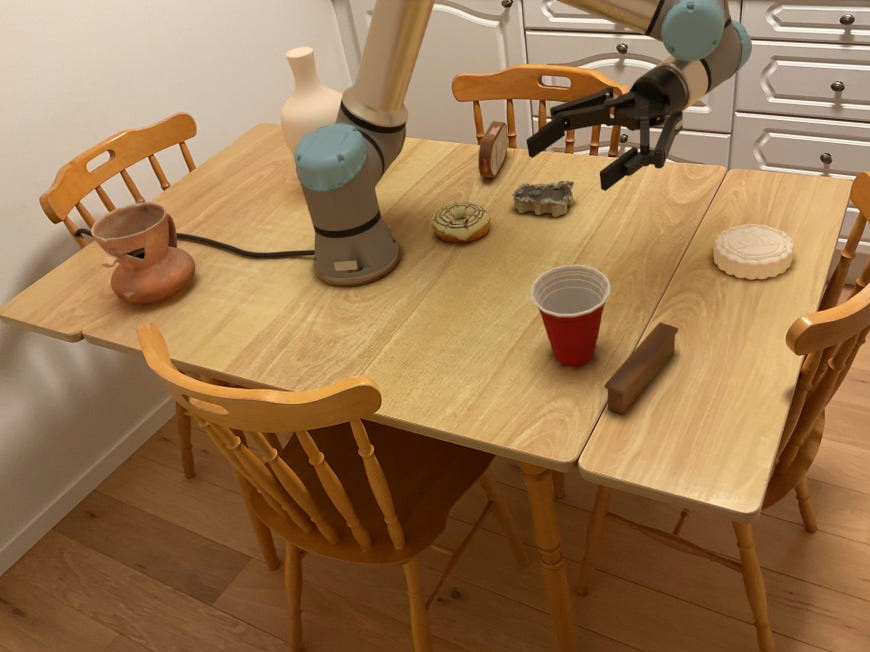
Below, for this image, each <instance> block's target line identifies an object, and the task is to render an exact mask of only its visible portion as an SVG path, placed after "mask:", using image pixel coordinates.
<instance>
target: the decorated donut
mask: <svg viewBox="0 0 870 652" xmlns="http://www.w3.org/2000/svg"><path fill="white" fill-rule="evenodd" d="M491 220H492V216H491V214H490V212H489V211H488V209H486V207H484V206H482V205H479V204H478V203H473V202H465V201H464V202H462V201H461V202H454V203H450V204H448V205H445V206H442V207H441V208H439V209H438V210H437V211H436V212H434V214H433V215H432V216H431V217H430V222H431V229H432V230H433V231H434V233H435V234H436V235H437V236H438V237H439V238H440V239H442V240H444V241H446V242H449V243H451V242H452V243H461V242H463V243H464V242H469V243H470V242H472V241H475V240H478V239H480V238H481V237H484V236H485V235H487V234H488V233H489V232H488V231H489V229H490V227H491Z"/></svg>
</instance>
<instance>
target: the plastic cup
mask: <svg viewBox="0 0 870 652" xmlns="http://www.w3.org/2000/svg"><path fill="white" fill-rule="evenodd" d="M529 293H530V294H529V296H530V297H531V300H532V303H533V305H534V307H536V308H537V309H538V311H539V313H540V315H541V319H542V322H543V325H544V329H545V332H546V336H547V339H548V341H549V343H550V347H551V351H552V354H553V355H554V358H555V360H556V361H557V362H558V363H560V365H564V366H565V367H581V366H584V365H586V364H588V363H590V362H591V361H592V359H593V358H594V355H595V353H596V348H597V342H598V340H599V333H600V328H601V324H602V323H601V322H602V317H603V312H604V310H605V309H604V308H605V305H606V302H607V300H608V298H609V297H610V295H611V282H610V280H609V279H608V277H607V274H605V273H603V272H601V270H599V269H597V268H596V267H593V266H587V265H583V264H563V265H560V266H556V267H552V268H550V269H548V270H546V271H544V272H543V273H542V274H539V276H538V277H537V278H536V279H535V280H534V281H533V282H532V283H531V287H530V291H529Z"/></svg>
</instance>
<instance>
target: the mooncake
mask: <svg viewBox="0 0 870 652" xmlns="http://www.w3.org/2000/svg"><path fill="white" fill-rule="evenodd" d="M794 249H795V245H794V243H793V239H792V238H791V237H789V236H788V234H787V233H786V232H785V231H782V230H780V229H779V228H777V227H771V226H769V225H766V224H765V225H764V224H763V223H762V224H757V223H748V224H744V223H743V224H740V225H739V226H738V225H737V226H736V225H734V226H731V227H729V228H728V229H724V230H722V231H721V233H719V234H717V236H716V238H715V240H714V242H713V252H712V253H713V254H712V257H713V260H714V261H713V262H714V264H715V265H716V266H717V267H718V269H719V270H721V271H723V272H725V274H727V275H730V276H734V277H735V278H737V279H744V278H745V279H746V280H751V281H752V280H757V279H758V280H766V279H767V278H776V277H777V276H778V275H780V274H781V275H782V274H784V273H785V272H786V270H787V269H789V268H790V267H791V265H792V262H793V256H794V251H795V250H794Z"/></svg>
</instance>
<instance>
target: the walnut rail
mask: <svg viewBox="0 0 870 652" xmlns="http://www.w3.org/2000/svg"><path fill="white" fill-rule="evenodd" d="M678 332H679V327H677V326H673V325H670V324H667V323H664V322H661V321H660V322H658V323H657V325H656V326H655V327H654V328H653V329H652V330H651V332H650V333H649V334H648V335H647V336H646V337H645V338H644V339H643V340H642V342H641V343H640V344H639V345H638V346H637V347H636V348H635V349H634V351H633V352H632V353H631V354H630V355H629V356H628V358H626V360H625V361H624V362H623V363H622V364H621V365H620V366H619V368H618V369H617V370H616V371H615V372H614V373H613V374H612V375H611V376H610V377H609V379H608V380H607V381H606V382H605V383H604V389H606V390H607V410H609V411H610V412H613V413H615V414H619V415H620V416H624V414H625V413H626V412H627V410H628V409H629V408H630V407H631V406H632V404H633V403H634V402H635V401H636V400H637V399H638V397H639V396H641V394H642V392H644V390H645V389H646V388H647V386H648V385H649V384H650V383H651V382H652V380H653V379H655V377H656V376H657V375H658V373H659V372H660V371H661V370H662V369H663V367H665V365H666V364H667V363H668V362H669V360H670V359H671V358H672V356H673V355H675V345H676V334H678Z"/></svg>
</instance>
